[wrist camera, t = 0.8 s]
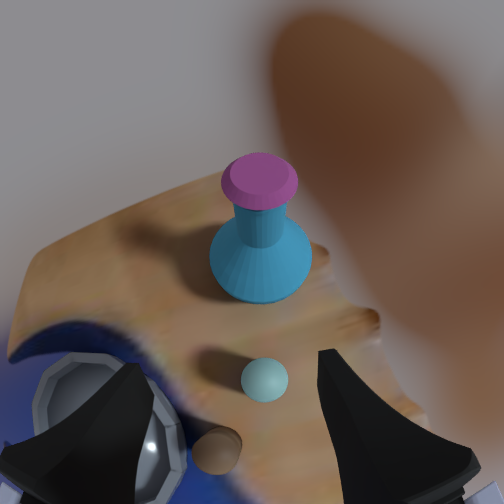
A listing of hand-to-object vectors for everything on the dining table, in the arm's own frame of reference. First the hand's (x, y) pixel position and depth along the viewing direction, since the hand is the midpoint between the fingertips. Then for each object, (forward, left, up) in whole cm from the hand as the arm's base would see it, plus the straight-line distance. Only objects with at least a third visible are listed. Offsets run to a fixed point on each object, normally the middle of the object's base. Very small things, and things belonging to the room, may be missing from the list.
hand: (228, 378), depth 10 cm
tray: (-6, +15, -16) cm, 23 cm away
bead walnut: (-6, +3, -16) cm, 17 cm away
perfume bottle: (+11, -3, -16) cm, 20 cm away
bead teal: (0, -2, -16) cm, 16 cm away
